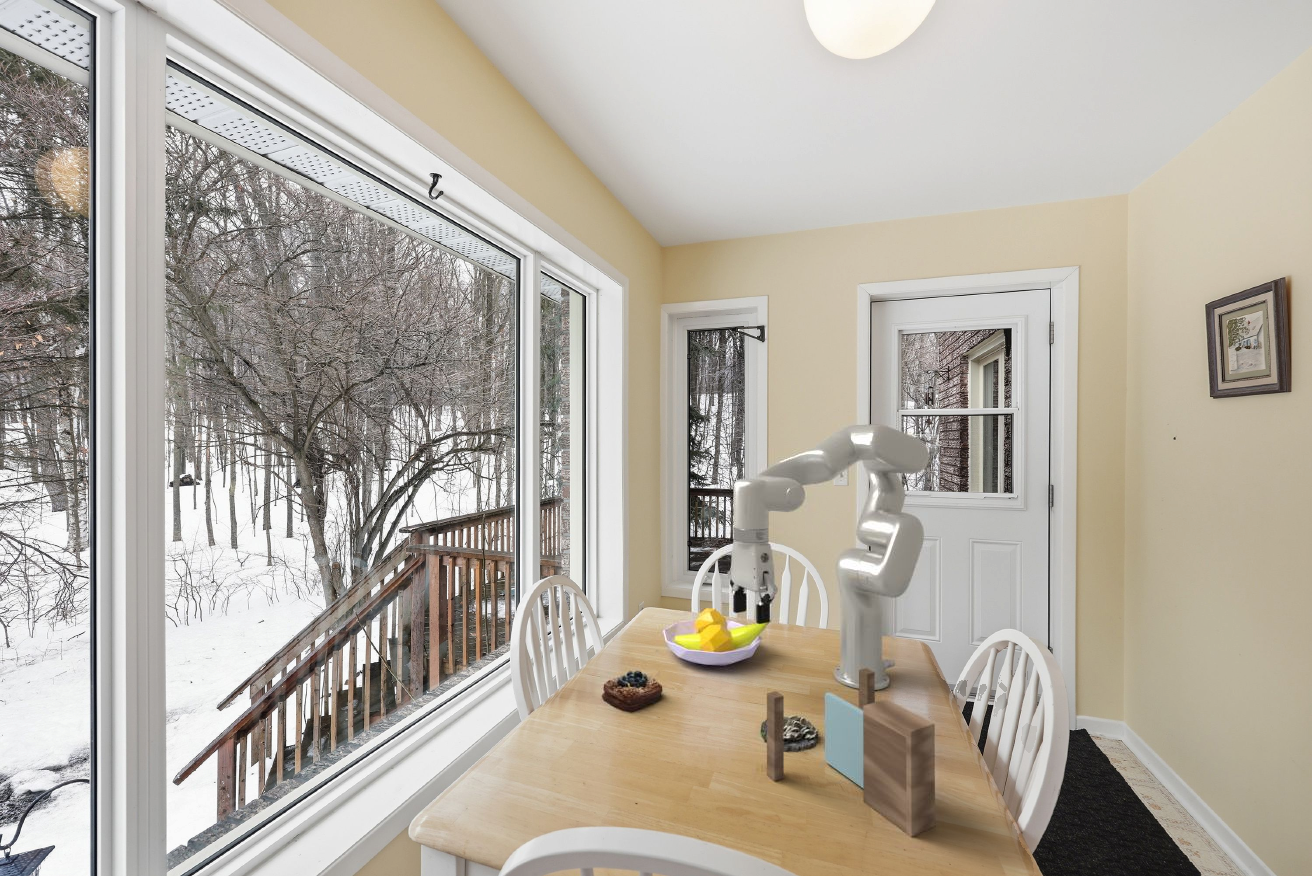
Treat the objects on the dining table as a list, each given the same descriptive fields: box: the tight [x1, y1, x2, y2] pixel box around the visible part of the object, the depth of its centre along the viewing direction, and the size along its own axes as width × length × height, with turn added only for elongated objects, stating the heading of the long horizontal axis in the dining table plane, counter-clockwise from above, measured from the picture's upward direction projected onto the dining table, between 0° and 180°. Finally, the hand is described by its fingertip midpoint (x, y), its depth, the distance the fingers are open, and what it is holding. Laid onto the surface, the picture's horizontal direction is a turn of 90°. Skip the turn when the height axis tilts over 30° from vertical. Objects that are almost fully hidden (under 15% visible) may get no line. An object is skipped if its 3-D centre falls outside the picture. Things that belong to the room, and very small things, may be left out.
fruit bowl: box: [662, 607, 772, 667], centre depth 146 cm, size 28×27×11 cm
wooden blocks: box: [766, 668, 936, 838], centre depth 89 cm, size 24×21×15 cm
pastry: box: [601, 670, 663, 713], centre depth 122 cm, size 11×12×6 cm
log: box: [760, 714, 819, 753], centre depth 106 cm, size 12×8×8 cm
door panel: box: [824, 692, 863, 789], centre depth 93 cm, size 1×10×12 cm, turn 27°
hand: (751, 616), depth 117 cm, fingers open, 7 cm apart
